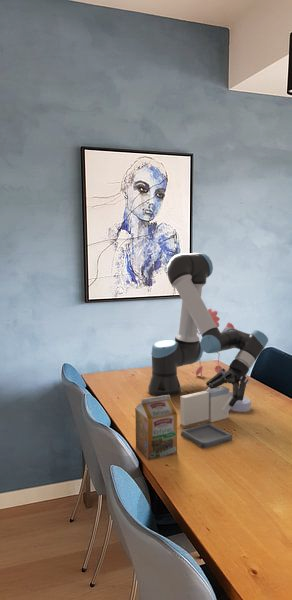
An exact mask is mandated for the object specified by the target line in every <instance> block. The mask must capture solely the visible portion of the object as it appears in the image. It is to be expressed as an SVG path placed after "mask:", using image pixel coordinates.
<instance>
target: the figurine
mask: <svg viewBox="0 0 292 600" xmlns="http://www.w3.org/2000/svg"><path fill="white" fill-rule="evenodd" d="M207 310H208V311H209V313H210V315H211V317H212V319H213V320H214V322H215V324H216V326H217V328H219V327H220V322H219V321H220V318H221V317H219V316H217V315H218V311H217V310H213V309H212V308H209V309H208V308H207ZM226 328H234V329H235V326H234V324H232V323H231V322H228V323H226V326H225V327H223V330H225V329H226ZM223 330H222V331H220V333H222V332H223ZM197 334H198V335H201V334H200V332H199V330H198V329H197ZM203 353H205V352H204V351H203ZM216 354H218V358H217V365H216V366H214V371H215V373H216V374H218V373H219V372H220V371H221V370H222V369H223V367H222V366H221V365H219V362H220V353H219V352H217V353H216ZM203 367H204V366H203V365H201V364H199V367H198V368H197V369H196V371H194V370H193V371H191V372H188V374H191V373H194V372H195V376H198V375H199V374H200V378H201V379H203V373H202V372H205V371H209V372H210V371H211V370H210V369H209V370H204V369H203Z"/></svg>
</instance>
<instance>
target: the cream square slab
mask: <svg viewBox="0 0 292 600" xmlns="http://www.w3.org/2000/svg"><path fill="white" fill-rule="evenodd" d="M209 398H210V392H207V391H205V390H202V391H198V392H194V393H189V394H185V395H180V422H179V424H180V425H179V427H180V428H182V429H183V430H185V429H189V428H193V427H196V426H200V425H204V424H207V423H210V421H209Z"/></svg>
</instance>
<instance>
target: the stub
mask: <svg viewBox="0 0 292 600" xmlns="http://www.w3.org/2000/svg"><path fill="white" fill-rule="evenodd" d="M204 391H207V392H210V398H209V423H212V422H213V423H214V422H216V421H217V422H218V421H221V420H224V419H228V418H229V412H230V411H229V412H228V413H227V414H225V413H224V412H223V411H222V409H223V407H224V406H225V404H226V403H227V401H228V400H229V392H230V388H229V387H226V386H222V385H221V386H218V387H217V388H213V389H208V390H206V389H205V390H204Z"/></svg>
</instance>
